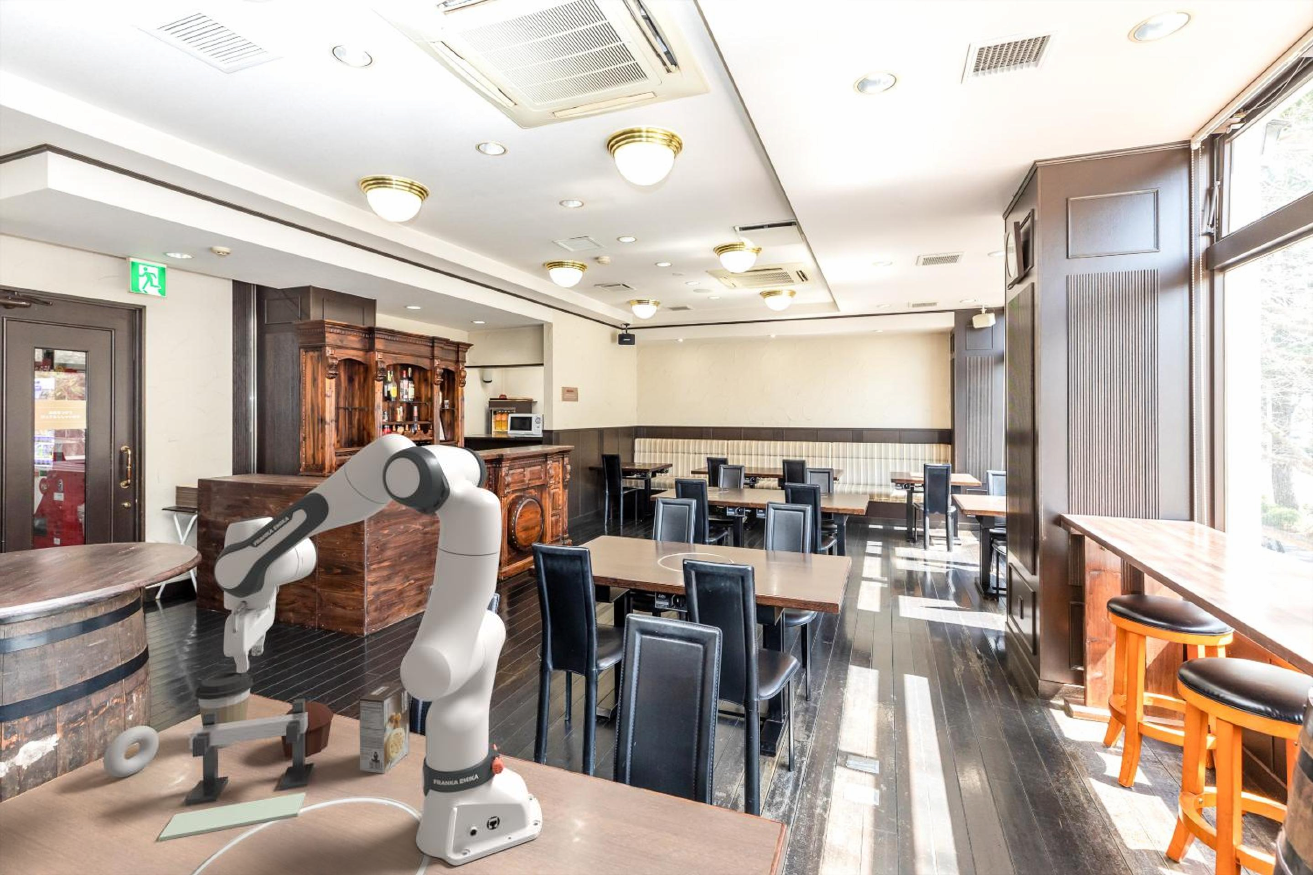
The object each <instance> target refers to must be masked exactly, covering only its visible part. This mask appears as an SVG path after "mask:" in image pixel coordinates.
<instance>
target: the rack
mask: <svg viewBox="0 0 1313 875" xmlns="http://www.w3.org/2000/svg"><path fill="white" fill-rule="evenodd" d="M305 702H306V698H299V699H294V700H293V702H292V704H291V705H292V706H291V709H292V714H297V713H305ZM214 724H218V709H216V710H208V711H206V712H205V713H204V714H203V725H202V726H206V725H214ZM288 743H292V758H291V760H292V761H291V762H292V764H291V765H292V766H287V768H286V770H285V772H284V774H283V776H282V779H281V780H280V783H279V785H278V789H279V791H280V792H281V791H284V790H291V789H297V788H302V787H303V788H304V787H307V786H308V784H309V782H310V779H311V777H312V774H313V772H314V769H315V763H314V762H310V763H306V757H305V733H300V734H298V723H294V724H287V726H286V744H288ZM197 757H202V780H201V779H200V780H199V781H198V782H197V783H196V785H195V787H194V788H193V790H192V791H191V793H190V794H189V795H188V796H187V798H186V799H185V806H186V807H188V806H194V805H201V804H207V803H213V802H217V800H218V799H219V797H220V795H221V794H222V792H223V791H224V790H225V787H226V786H227V785H228V782H229V775H227V776H221V777H219V748H218V745H214V746H207V735H206V736H199V737H194V738H193V749H192V758H197Z"/></svg>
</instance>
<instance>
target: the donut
mask: <svg viewBox="0 0 1313 875" xmlns="http://www.w3.org/2000/svg"><path fill="white" fill-rule="evenodd" d="M136 743H137V744H139V746H138V750H137V751H136V753H135V754H134V755H133V756H131V757H130V758H128V759H126V757H125V755H126V752H127V750H128V749H129V748H130V747H131V746H132V745H134V744H136ZM159 745H160V739H159V734H158V732H157V731H156V730H155V729H154V728H153V727H150V726H148V725H137V726H133V727H130V728H128V729H126V730H124V731H122V732H120V734H118V735H117V736H116V737H114V739H113V740H112V741H111V742H110V744H108V746H107V748H106V750H105V752H104V754H103V760H102V763H103V764H102V765H103V767H104V770H105V771H106V772H107V774H109V775H110V776H112V777H115V778H126V777H129V776H132V775H134V774H136V773H138V772H140V771H142V770H143V769H144V768H145V767H146V766H147V765H149V764H150V763H151V761H152V760H153V759H154V757H155V756H156V753H157V751H158V748H159Z"/></svg>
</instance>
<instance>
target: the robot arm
mask: <svg viewBox="0 0 1313 875" xmlns="http://www.w3.org/2000/svg"><path fill="white" fill-rule="evenodd" d="M485 462H486V461H485V460H484V459H483V457H482V455H480V454H479V453H477V451H475V450H473V449H471V448H468V447H464V446H459V445H456V446H455V445H454V446H450V445H442V444H431V445H429V444H428V445H422V446H418V445H416V444H415V442H413V440H411V439H409V437H406V436H404V435H402V434H400V433H386V434H384V435H382V436H380V437H378V438H377V439H374V440H373V441H372V442H370V443H368V444H367V445H366V446H364V447H363V448H361V449H359V451H357V452H356V453H355V454H354V455H353V456H352V457H350V459H349V460H347V461H346V462H345V463H344V464H343V465H341V466H340V468H339V469H337V470H336V471H335V472H333V473H332V474H331V475H330V476H329V477H328V478H326V479H325V480H324V481H323V482H321V483H320V484H319V485H318V486H316V487H315V488H313V489H312V490H311V491H309V492H308V493H306V494H305V495H304V496H302V497H301V498H299V499H298V500H296V501H295V502H294V503H293V504H291V505H290V506H288V507H287V508H286V509H284V510H283V511H282V512H280V513H279V514H278V515H277V516H275V517H274V518H273V517H270V516H266V515H261V516H253V517H248V518H243V519H237V520H234V521H233V522H231V523H230V524H229V525H228V527H227V529H226V533H225V538H224V548H223V549H222V551H221V552H220V553H219V555H218V556H217V558H216V560H215V564H214V566H213V578H214V580H215V582H216V584H217V586H218V587H220V589H221V590H222V591H223V607H224V608H225V609H226V610H231V613H230V614H229V615H228V617H227V618H226V620H225V624H224V634H223V653H224V656H225V657H228V658H229V657H230V658H231V657H233V659H234V663H235V665H236V671H237V673H244V672H247V671H249V669H250V660H249V658H248V656H249V651H250V650H251V655H252V656H253V657H255V656H261V655H262V653H263V652H264V643H265V640H266V639H265V638H266V633H267V631H268V630H269V629H270V628H271V627H272V626H273V624H274V620H275V616H276V602H277V594H279V590H280V586H282V585H285V584H288V583H292V582H295V581H298V580H302V579H303V578H306V577H308V576H309V575H311V574H312V572H314V570H315V568H316V566H317V562H318V549H317V547H316V544H315V543H314V542H313V540H312V539H311V538H310V537H313V536H315V535H317V534H320V533H322V532H325V531H328V530H332V529H336V528H339V527H343V526H347V525H351V524H355V523H358V522H359V523H360V522H361V521H364V520H365V521H366V519H368V518H371V517H372V516H374V515H375V514H377V513H379V512H380V511H382V510H383V509H384V508H386V507H387V506H388V505H389V504H390V503H392V501H394V502H396V503H397V504H400V505H403V506H404V507H408V508H409V509H413V510H415V511H417V512H419V513H420V514H422V515H424V516H430V515H432V514H434V513H435V514H436V516H437V517H438V519H439V537H438V543H437V550H436V551H437V552H436V559H435V560H436V561H435V568H434V573H433V574H434V575H433V582H432V588H431V591H430V595H429V599H428V602H427V605H426V608H425V611H424V613H423V617H422V619H421V621H420V624H419V627H418V630H417V633H416V635H415V638H414V639H413V642H412V643H411V645H410V647H409V649H408V650H407V652H406V654H404V657H403V658H402V661H401V664H400V669H399V676H400V680H401V683H403V686H404V687H405V689H406V690H407V692H408V693H409V696H412V697H413V698H414V699H416V700H418V701H421V702H431V704H430V706H429V708H428V711H427V713H426V717H425V756H424V758H423V764H422V770H421V771H422V772H421V774H422V775H421V777H422V778H421V779H422V780H421V781H422V791H423V804H422V810H421V817H420V820H419V821H420V822H419V827H418V829H417V832H416V836H415V842H416V846H417V847H418V849H419V850H420V851H421V852H423V853H424V854H426V855H428V856H430V857H435V858H439V859H443V860H444V861H445V862H447V863H448V864H450V865H452V866H460V865H463V864H466V863H469V862H472V861H475V860H477V859H480V858H483V857H486V856H489V855H492V854H495V853H498V852H500V851H503V850H506V849H510V848H512V847H515V846H518V845H520V844H523V843H526V842H530V841H532V840H535V839H536V838H537V837H538V836H539V834H540V833H541V831H542V828H543V815H542V814H543V813H542V809H541V806H540V802H539V801H538V799H537V798H536V797H535V796H534V794H532V793H531V792H529V791H528V790H529V789H528V787H527V785H526V782H525V780H524V779H523V777H522V776H521V775H520V774H519V773H517V772H514V771H512V770H511V769H508V768H507V767H505V766H504V762H503V760H502V759H501V758H500V757H501V756H500V752H499V750H498V748H497V746H496V744H495V743H494V744H493V747H492V746H490V745H489V724H490V723H489V722H490V721H489V719H490V718H489V717H490V716H489V714H490V704H491V698H492V694H493V688H494V684H495V678H496V672H497V668H498V662H499V661H498V660H499V657H500V653H501V652H502V648H503V646H504V643H505V640H506V635H507V634H506V633H507V632H506V627H505V623H504V621H503V619H502V618H501V617H500V615H498V614H497V613H495V611H492V610H489V609H488V608H489V605H490V603H491V601H492V599H493V597H494V595H495V592H496V591H497V590H496V588H497V582H498V580H497V579H498V575H499V574H498V573H499V564H500V555H501V547H502V546H501V545H502V532H503V531H502V530H503V529H502V528H503V527H502V526H503V523H502V520H503V519H502V509H501V508H502V507H501V501H500V499H499V498H498V496H497V495H496V494H495V493H493V492H492V491H491V490H488V489H487V488H483V487H484V485H485V483H486V481H487V480H486V479H487V476H488V471H487V466H486V463H485Z"/></svg>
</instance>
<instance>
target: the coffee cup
mask: <svg viewBox="0 0 1313 875" xmlns="http://www.w3.org/2000/svg"><path fill="white" fill-rule="evenodd" d="M253 680H254V679H253V678H252V677H251V676H249V673H248V672H247V671H246V672H244V673H237V670H231V671H223V672H219V673H215V674H213V675H210V676H208V677H206V678H204V679H203V680H202V681H201V682H200V685H199V686H198V687H197V688H196V690H195V694H194V697H195V698H197V700H198V706H199V711H200V712H199V713H200V718H201V723H202V725H201V726H203V714H204V713H205V712H206V711H208V710H216V709H218V724H221V723H229V722H236V721H244V720H247V714H248V707H249V699H250V693H251V688H252V687H253V686H254V682H253ZM237 743H238V742H236V743H229V744H222V745H218V749H222V748H221V747H223V748H225V747H226V746H227V747H230V746H233V745H234V744H237ZM229 745H230V746H229ZM227 747H226V748H227Z"/></svg>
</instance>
